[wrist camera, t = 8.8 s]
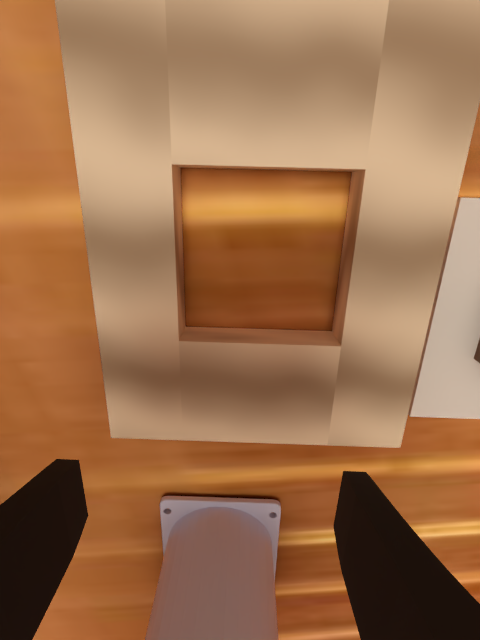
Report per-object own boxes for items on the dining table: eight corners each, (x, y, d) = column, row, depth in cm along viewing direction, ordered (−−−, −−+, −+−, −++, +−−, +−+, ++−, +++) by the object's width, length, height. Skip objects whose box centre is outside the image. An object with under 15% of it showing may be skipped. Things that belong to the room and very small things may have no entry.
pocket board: (386, 424, 21) (400, 447, 19) (123, 415, 21) (111, 438, 19) (471, 12, 14) (506, -15, 12) (77, 5, 14) (51, -24, 12)
